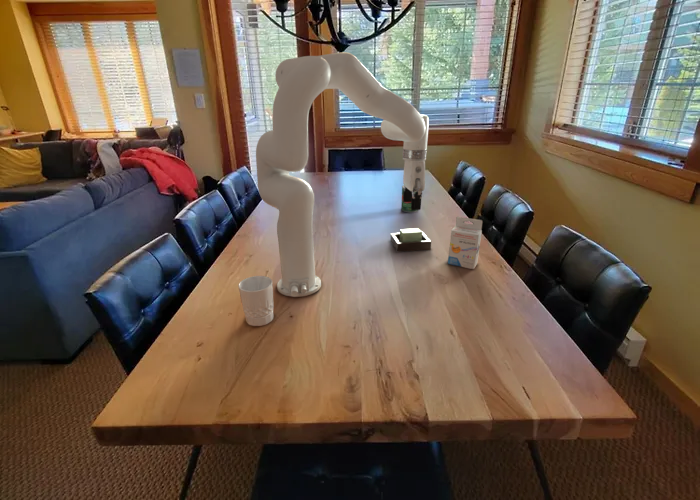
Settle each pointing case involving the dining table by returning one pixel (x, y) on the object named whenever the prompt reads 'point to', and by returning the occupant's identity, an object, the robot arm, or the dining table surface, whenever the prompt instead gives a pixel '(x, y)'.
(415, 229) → the light green block
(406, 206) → the canned tomato
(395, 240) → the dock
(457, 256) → the ink box
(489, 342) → the dining table surface
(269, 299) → the white cup
